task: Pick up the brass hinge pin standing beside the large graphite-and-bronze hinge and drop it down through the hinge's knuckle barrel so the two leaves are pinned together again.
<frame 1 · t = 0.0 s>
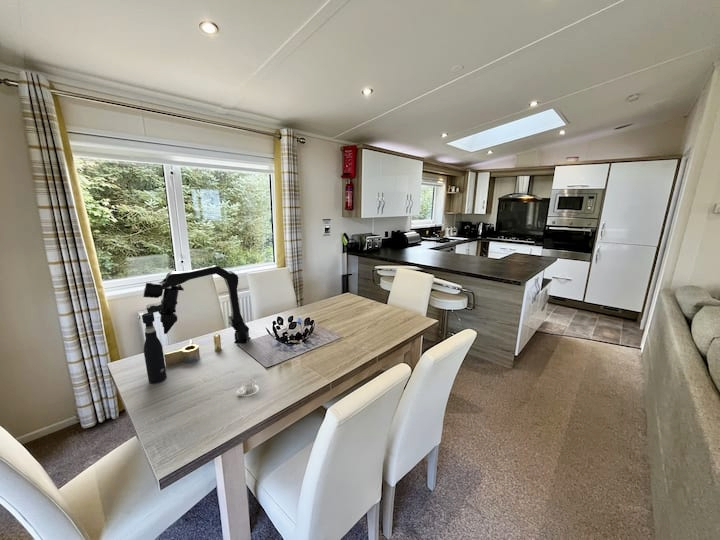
hand: (164, 330, 135), 15 cm above the table, tool pointing down, fingers open, 9 cm apart
hinge: (191, 359, 140), on the table
black water bottle: (157, 379, 123), on the table
hinge pin: (218, 349, 149), on the table
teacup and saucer: (242, 390, 118), on the table
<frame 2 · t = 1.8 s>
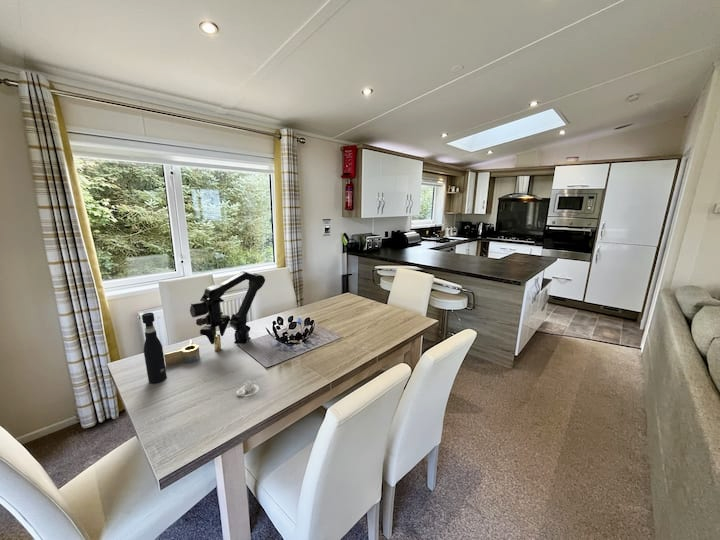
hand: (217, 339, 148), 6 cm above the table, tool pointing down, fingers open, 9 cm apart
nothing on the table moved.
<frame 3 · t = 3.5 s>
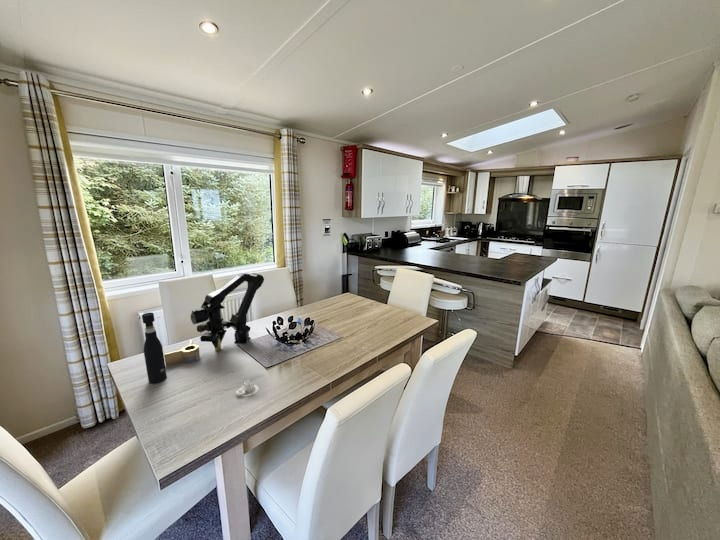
hand: (217, 346, 149), 2 cm above the table, tool pointing down, fingers closed on hinge pin, 3 cm apart
hinge pin: (218, 349, 149), on the table, touching gripper
everything else where it was.
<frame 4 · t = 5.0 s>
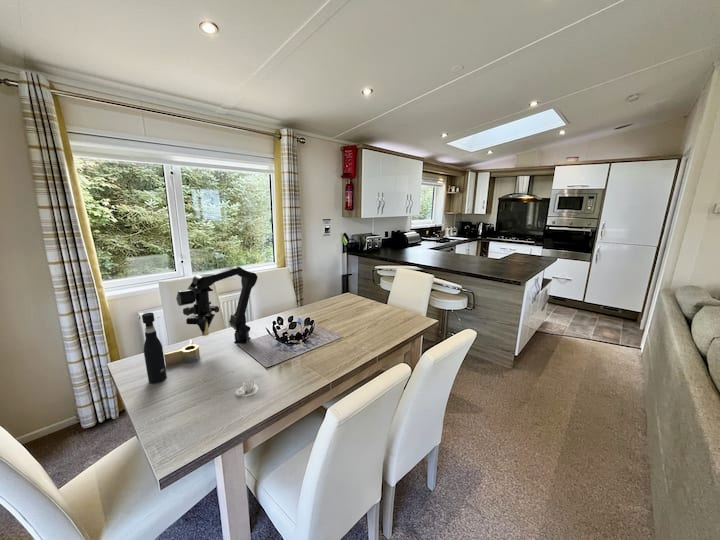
hand: (205, 330, 142), 12 cm above the table, tool pointing down, fingers closed on hinge pin, 3 cm apart
hinge pin: (205, 334, 143), point 10 cm above the table, touching gripper
everything else where it was.
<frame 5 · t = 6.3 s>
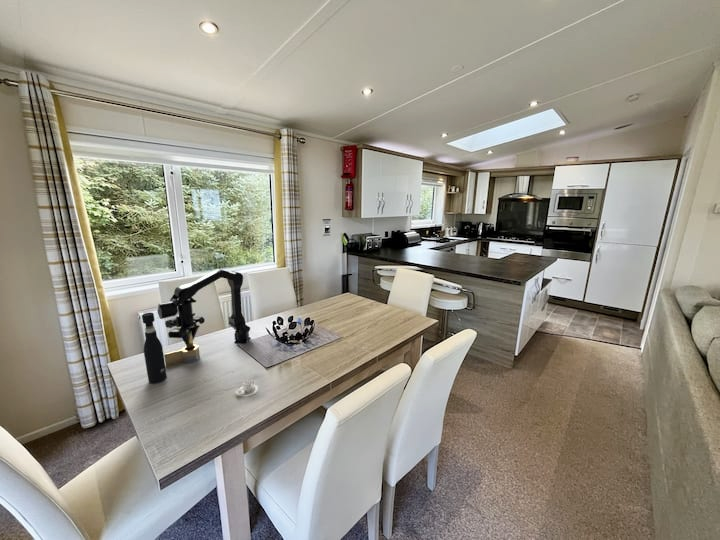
hand: (189, 343, 138), 9 cm above the table, tool pointing down, fingers closed on hinge pin, 3 cm apart
hinge pin: (189, 346, 138), point 7 cm above the table, touching gripper
everything else where it was.
when the fingers open (8 cm above the table, at t = 6.9 s): hinge pin drops 7 cm, resting in hinge.
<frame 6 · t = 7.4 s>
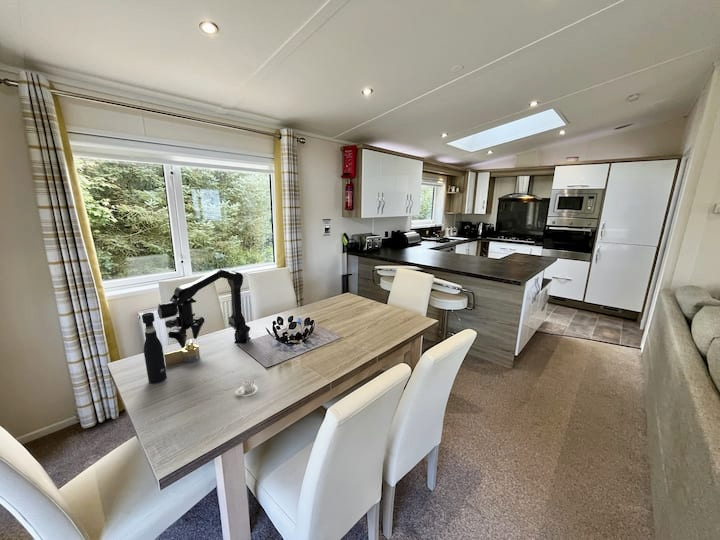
hand: (189, 343, 138), 8 cm above the table, tool pointing down, fingers open, 9 cm apart
hinge pin: (191, 359, 140), resting in hinge
everything else where it was.
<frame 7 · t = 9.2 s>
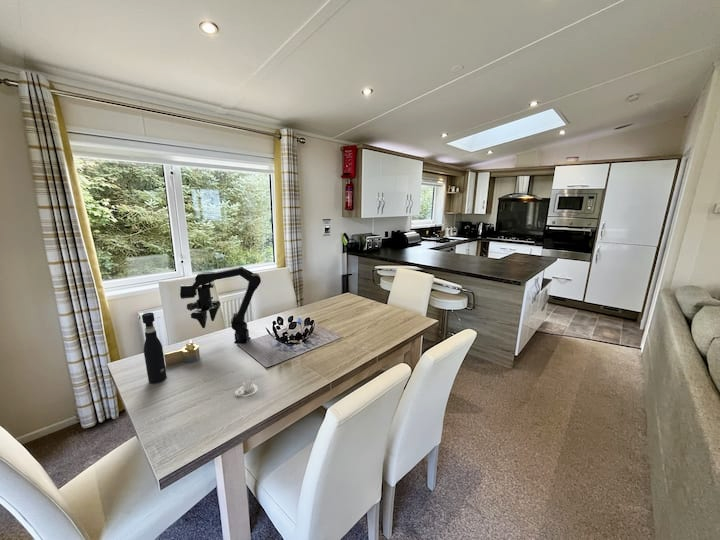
hand: (208, 324, 151), 12 cm above the table, tool pointing down, fingers open, 9 cm apart
nothing on the table moved.
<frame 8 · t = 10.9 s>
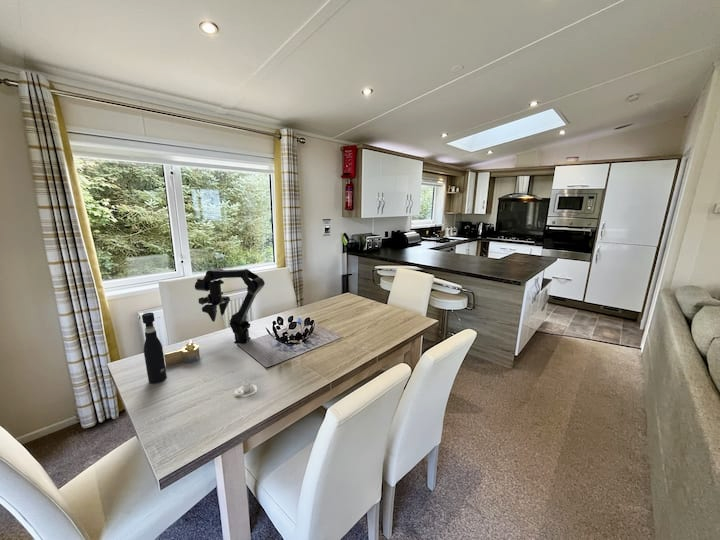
hand: (218, 318, 159), 12 cm above the table, tool pointing down, fingers open, 9 cm apart
nothing on the table moved.
at the end: hinge pin 0.0 cm off-centre on the hinge, point 0.0 cm above the hinge's base; hinge pin tilted 0°; the gripper is holding nothing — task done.
